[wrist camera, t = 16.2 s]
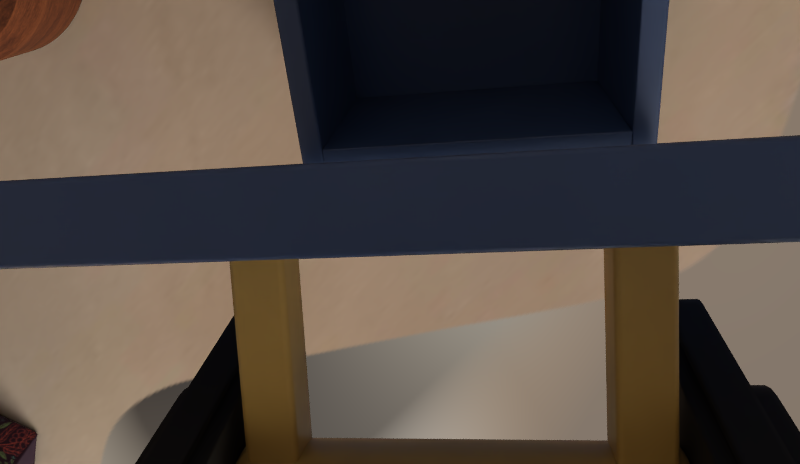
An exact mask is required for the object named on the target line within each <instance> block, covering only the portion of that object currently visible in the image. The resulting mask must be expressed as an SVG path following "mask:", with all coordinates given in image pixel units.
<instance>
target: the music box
mask: <svg viewBox="0 0 800 464" xmlns="http://www.w3.org/2000/svg"><path fill="white" fill-rule="evenodd" d="M81 1H82V0H0V60H4V59H7V58H10V57H13V56H17V55H20V54H23V53H26V52H30V51H33V50H36V49H38V48H41V47H43V46H45V45H47V44H48V43H50V42H52V41H53V40H54V39H56V38H57V37H58V36H59V35H60V34H62V32H63V31H64V30H65V29H66V28H67V27H68V26H69V24H70V23H71V21H72V20H73V18H74V16H75V15H76V13H77V11H78V8H79V6H80V3H81Z"/></svg>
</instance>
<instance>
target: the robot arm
mask: <svg viewBox="0 0 800 464" xmlns="http://www.w3.org/2000/svg"><path fill="white" fill-rule="evenodd" d="M679 429H680V447H681V449H682V450H683V451H684V453H685V455H686V456H687V458H688V460H689V462H690V464H800V432H799V430H798V428H797V427H796V425H795V424H794V422H793V420H792V419H791V417H790V416H789V414H788V412H787V411H786V409H785V408H784V406H783V405H782V403H781V401H780V400H779V398H778V397H777V395H776V394H775V393H774V392H773V390H772V389H771V388H769V387H767V386H765V385H750V384H749V382H748V381H747V379H746V377H745V375H744V374H743V372H742V370H741V369H740V367H739V365H738V364H737V362H736V360H735V358H734V357H733V355H732V353H731V351H730V350H729V348H728V347H727V345H726V343H725V341H724V340H723V338H722V336H721V334H720V333H719V331H718V329H717V328H716V326H715V324H714V322H713V321H712V319H711V317H710V316H709V314H708V312H707V311H706V309H705V307H704V305H703V304H702V303H701V301H700V300H698V299H680V300H679ZM245 447H246V441H245V430H244V419H243V408H242V396H241V385H240V374H239V362H238V351H237V340H236V329H235V317H234V316H233V318H232V319H231V321H230V323H229V324H228V326H227V327H226V329H225V330H224V332H223V334H222V335H221V337H220V338H219V340H218V341H217V343H216V345H215V346H214V348H213V349H212V351H211V352H210V354H209V355H208V357H207V359H206V360H205V362H204V363H203V365H202V366H201V368H200V370H199V371H198V373H197V374H196V376H195V377H194V379H193V381H192V382H191V384H190V385H189V387H188V388H186V389H185V390H184V391H183V392H182V393H181V394H180V395H179V397H178V398H177V400H176V401H175V403H174V404H173V406H172V407H171V409H170V411H169V412H168V414H167V415H166V417H165V418H164V420H163V421H162V423H161V424H160V426H159V428H158V429H157V431H156V432H155V434H154V435H153V437H152V438H151V440H150V442H149V443H148V445H147V446H146V448H145V449H144V451H143V452H142V454H141V456H140V457H139V459H138V460H137V462H136V463H135V464H236V462H237V460H238V458H239V456H240V454H241V453H242V451H243V450H244V448H245Z"/></svg>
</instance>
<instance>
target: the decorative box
mask: <svg viewBox="0 0 800 464" xmlns="http://www.w3.org/2000/svg"><path fill="white" fill-rule="evenodd" d="M36 437H37V433H36V432H35V431H33V430H30V429H28V428H26V427H24V426H22V425H20V424H18V423H16V422H14V421H11V420H9V419H7V418H5V417H3V416H1V415H0V464H34V461H35V449H36Z"/></svg>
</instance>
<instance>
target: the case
mask: <svg viewBox="0 0 800 464" xmlns="http://www.w3.org/2000/svg"><path fill="white" fill-rule="evenodd" d="M274 6H275V11H276V17H277V22H278V28H279V33H280V39H281V44H282V50H283V56H284V61H285V67H286V72H287V78H288V83H289V89H290V94H291V100H292V105H293V111H294V116H295V122H296V127H297V133H298V138H299V144H300V149H301V155H302V161H303V164H309V163H326V162H343V161H361V160H378V159H396V158H413V157H431V156H448V155H466V154H483V153H500V152H518V151H535V150H553V149H570V148H588V147H605V146H622V145H640V144H657V137H658V125H659V114H660V102H661V90H662V78H663V66H664V54H665V43H666V31H667V19H668V7H669V0H274Z"/></svg>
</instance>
